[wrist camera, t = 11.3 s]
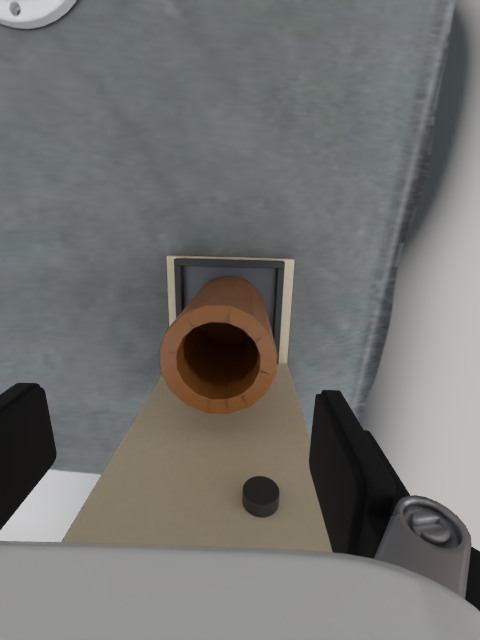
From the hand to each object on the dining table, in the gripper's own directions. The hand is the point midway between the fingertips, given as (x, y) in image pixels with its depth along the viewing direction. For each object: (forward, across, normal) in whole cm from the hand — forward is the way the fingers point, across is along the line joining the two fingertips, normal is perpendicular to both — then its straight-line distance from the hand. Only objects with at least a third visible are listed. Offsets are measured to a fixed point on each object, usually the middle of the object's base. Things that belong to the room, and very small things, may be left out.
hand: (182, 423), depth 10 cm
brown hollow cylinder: (+19, -1, +1) cm, 19 cm away
